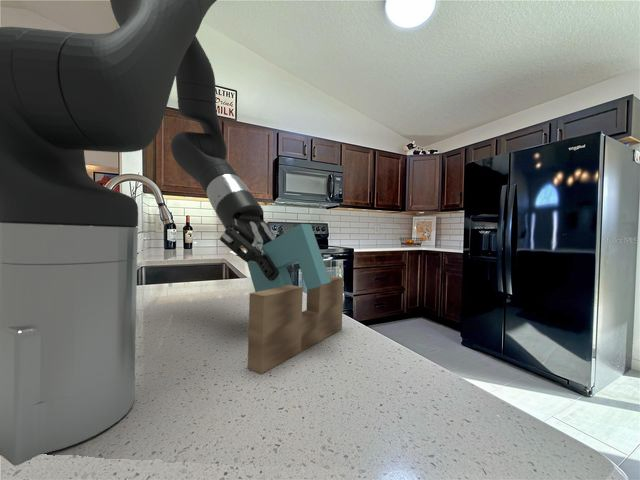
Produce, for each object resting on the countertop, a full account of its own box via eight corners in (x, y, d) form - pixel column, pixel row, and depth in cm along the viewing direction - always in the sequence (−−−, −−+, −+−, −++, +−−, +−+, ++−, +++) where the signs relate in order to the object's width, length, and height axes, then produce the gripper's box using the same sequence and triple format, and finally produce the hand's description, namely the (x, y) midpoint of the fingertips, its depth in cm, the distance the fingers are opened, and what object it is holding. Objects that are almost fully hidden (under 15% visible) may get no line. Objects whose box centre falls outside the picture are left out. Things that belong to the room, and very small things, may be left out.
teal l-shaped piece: (260, 308, 46) (245, 255, 48) (270, 305, 48) (255, 255, 50) (321, 284, 39) (301, 223, 41) (330, 281, 41) (310, 224, 43)
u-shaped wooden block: (261, 374, 33) (263, 296, 33) (247, 367, 34) (249, 293, 34) (341, 329, 50) (343, 277, 49) (330, 326, 51) (331, 276, 51)
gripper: (210, 182, 44) (262, 265, 37) (271, 194, 55) (319, 259, 49) (191, 215, 47) (236, 297, 40) (252, 220, 58) (295, 284, 52)
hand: (281, 276), depth 45 cm, fingers closed on teal l-shaped piece, 2 cm apart
